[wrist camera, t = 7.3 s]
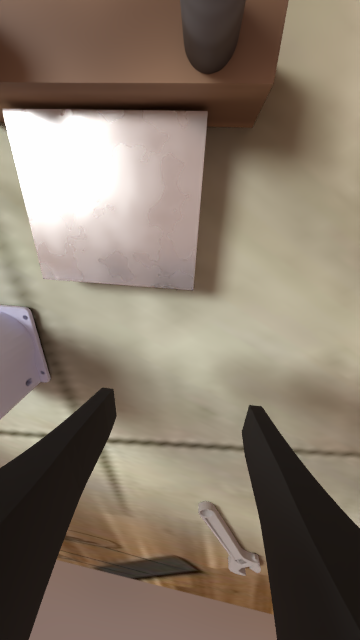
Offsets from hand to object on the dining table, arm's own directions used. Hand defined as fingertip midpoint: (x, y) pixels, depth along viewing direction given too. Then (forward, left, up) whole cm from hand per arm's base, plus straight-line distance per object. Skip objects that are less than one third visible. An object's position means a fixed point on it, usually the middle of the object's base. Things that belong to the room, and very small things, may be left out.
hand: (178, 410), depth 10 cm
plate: (+10, +6, -10) cm, 15 cm away
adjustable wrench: (-42, -11, -10) cm, 45 cm away
